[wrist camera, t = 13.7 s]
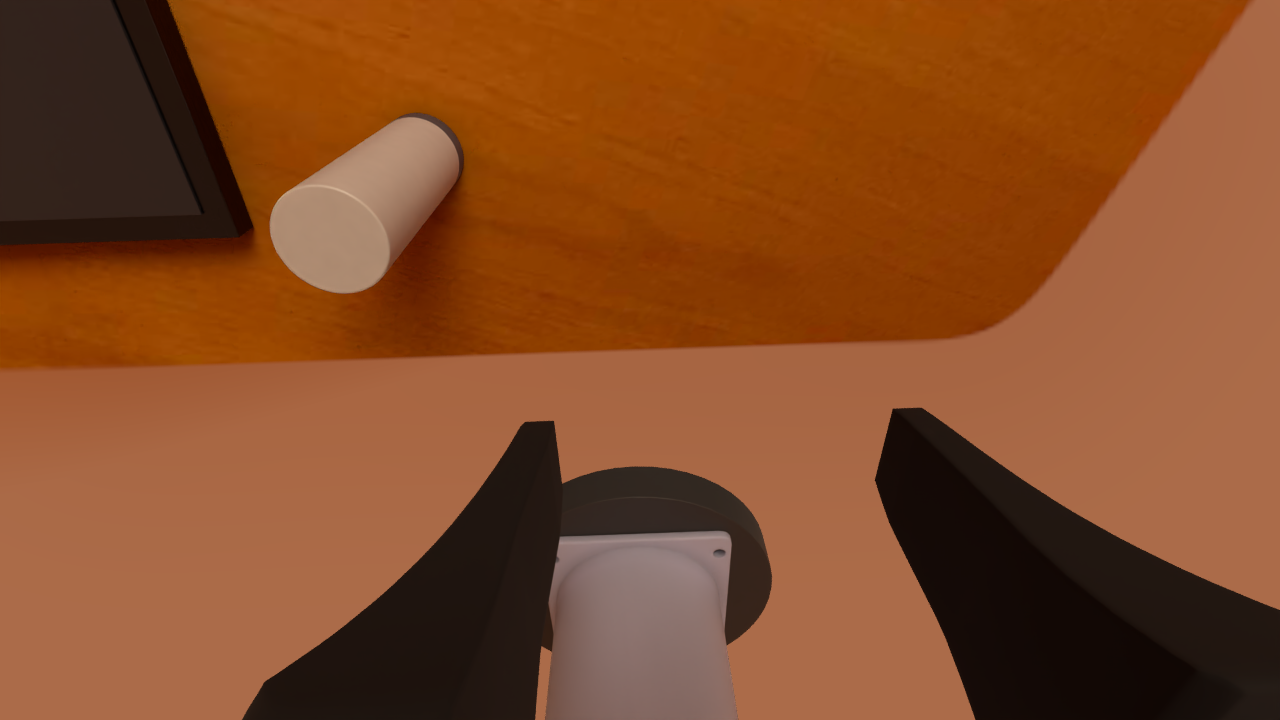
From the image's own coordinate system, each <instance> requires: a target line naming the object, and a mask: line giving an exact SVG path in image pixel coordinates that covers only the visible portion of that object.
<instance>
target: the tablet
mask: <svg viewBox="0 0 1280 720" xmlns="http://www.w3.org/2000/svg"><path fill="white" fill-rule="evenodd" d="M252 228H253V225H252V222H251V220H250V217H249V214H248V212H247V209H246V207H245V204H244V201H243V199H242V196H241V194H240V191H239V188H238V186H237V183H236V181H235V178H234V175H233V173H232V170H231V167H230V165H229V162H228V160H227V157H226V154H225V152H224V149H223V147H222V144H221V141H220V139H219V136H218V133H217V131H216V128H215V126H214V123H213V120H212V118H211V115H210V113H209V110H208V107H207V105H206V102H205V99H204V97H203V94H202V92H201V89H200V86H199V84H198V81H197V79H196V76H195V73H194V71H193V68H192V66H191V63H190V60H189V58H188V55H187V52H186V50H185V47H184V45H183V42H182V39H181V37H180V34H179V32H178V29H177V26H176V24H175V21H174V18H173V16H172V13H171V11H170V8H169V5H168V3H167V0H0V245H18V244H49V243H79V242H110V241H141V240H172V239H202V238H233V237H240V236H242V235H243V234H245V233H246V232H248V231H249V230H250V229H252Z"/></svg>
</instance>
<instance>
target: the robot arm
mask: <svg viewBox="0 0 1280 720" xmlns="http://www.w3.org/2000/svg"><path fill="white" fill-rule="evenodd" d="M875 481H876V485H877V488H878V491H879V494H880V497H881V500H882V503H883V506H884V509H885V512H886V515H887V518H888V520H889V523H890V525H891V527H892V529H893V531H894V534H895V535H896V538H897V540H898V542H899V544H900V546H901V547H902V550H903V552H904V554H905V556H906V558H907V560H908V562H909V564H910V566H911V568H912V570H913V572H914V574H915V576H916V578H917V580H918V582H919V584H920V586H921V588H922V590H923V592H924V594H925V595H926V598H927V600H928V602H929V603H930V605H931V608H932V610H933V612H934V614H935V616H936V618H937V620H938V622H939V625H940V627H941V629H942V631H943V633H944V636H945V638H946V640H947V643H948V646H949V648H950V651H951V654H952V656H953V659H954V662H955V664H956V667H957V669H958V672H959V675H960V677H961V680H962V683H963V685H964V688H965V691H966V694H967V697H968V700H969V703H970V705H971V708H972V711H973V714H974V717H975V720H1280V610H1278V609H1276V608H1273V607H1270V606H1268V605H1265V604H1263V603H1260V602H1258V601H1255V600H1253V599H1250V598H1248V597H1246V596H1243V595H1241V594H1238V593H1236V592H1234V591H1231V590H1229V589H1226V588H1224V587H1222V586H1219V585H1217V584H1214V583H1212V582H1210V581H1207V580H1205V579H1203V578H1201V577H1199V576H1196V575H1194V574H1192V573H1190V572H1188V571H1185V570H1183V569H1181V568H1179V567H1177V566H1175V565H1173V564H1170V563H1168V562H1166V561H1164V560H1162V559H1160V558H1158V557H1156V556H1154V555H1152V554H1150V553H1148V552H1146V551H1144V550H1142V549H1140V548H1137V547H1136V546H1134V545H1132V544H1130V543H1128V542H1126V541H1124V540H1122V539H1120V538H1118V537H1116V536H1115V535H1113V534H1111V533H1109V532H1107V531H1106V530H1104V529H1102V528H1100V527H1098V526H1097V525H1095V524H1093V523H1092V522H1090V521H1088V520H1086V519H1084V518H1083V517H1081V516H1079V515H1077V514H1076V513H1074V512H1072V511H1071V510H1069V509H1067V508H1066V507H1064V506H1062V505H1061V504H1059V503H1058V502H1056V501H1054V500H1053V499H1051V498H1050V497H1048V496H1047V495H1045V494H1044V493H1042V492H1041V491H1039V490H1037V489H1036V488H1034V487H1033V486H1031V485H1030V484H1028V483H1027V482H1025V481H1024V480H1022V479H1021V478H1019V477H1018V476H1016V475H1015V474H1013V473H1012V472H1010V471H1009V470H1008V469H1006V468H1005V467H1003V466H1002V465H1000V464H999V463H998V462H996V461H995V460H994V459H992V458H991V457H989V456H988V455H987V454H985V453H984V452H982V451H981V450H980V449H978V448H977V447H976V446H974V445H973V444H972V443H970V442H969V441H967V440H966V439H965V438H963V437H962V436H961V435H959V434H958V433H956V432H955V431H954V430H953V429H951V428H950V427H948V426H947V425H946V424H944V423H943V422H942V421H940V420H939V419H937V418H936V417H934V416H933V415H932V414H930V413H929V412H927V411H926V410H924V409H923V408H901V409H893V410H892V414H891V418H890V422H889V426H888V430H887V434H886V438H885V442H884V446H883V450H882V454H881V458H880V462H879V466H878V470H877V474H876V478H875ZM562 499H563V488H562V481H561V473H560V465H559V457H558V449H557V442H556V433H555V425H554V421H537V422H525V423H524V424H523V425H522V426H521V427H520V429H519V430H518V432H517V434H516V435H515V437H514V439H513V440H512V442H511V444H510V445H509V447H508V448H507V450H506V452H505V453H504V455H503V456H502V458H501V459H500V461H499V462H498V464H497V465H496V467H495V468H494V470H493V471H492V472H491V474H490V475H489V477H488V478H487V479H486V481H485V482H484V484H483V485H482V486H481V488H480V490H479V491H478V492H477V493H476V495H475V496H474V498H473V499H472V500H471V501H470V502H469V504H468V505H467V506H466V507H465V509H464V510H463V511H462V512H461V514H460V515H459V516H458V517H457V519H456V520H455V521H454V522H453V524H452V525H451V526H450V527H449V528H448V529H447V530H446V532H445V533H444V534H443V535H442V536H441V537H440V538H439V539H438V541H437V542H436V543H435V544H434V545H433V546H432V547H431V548H430V549H429V550H428V551H427V552H426V553H425V555H423V556H422V558H420V559H419V561H418V562H417V563H415V564H414V565H413V566H412V567H411V568H410V569H409V570H408V571H407V572H406V573H405V574H404V575H403V576H402V577H401V578H400V579H399V580H398V581H397V582H396V583H395V584H394V585H393V586H391V587H390V588H389V589H388V590H387V591H386V592H385V593H384V594H382V595H381V596H380V597H379V598H378V599H377V600H376V601H374V602H373V603H372V604H371V605H369V606H368V607H367V608H366V609H364V610H363V611H362V612H361V613H360V614H358V615H357V616H356V617H355V618H353V619H352V620H351V621H350V622H349V623H347V624H346V625H345V626H344V627H342V628H341V629H340V630H338V631H337V632H336V633H335V634H333V635H332V636H330V637H329V638H328V639H326V640H325V641H324V642H322V643H321V644H320V645H318V646H317V647H315V648H314V649H312V650H311V651H310V652H308V653H307V654H305V655H304V656H302V657H301V658H299V659H298V660H296V661H295V662H294V663H292V664H291V665H289V666H288V667H286V668H285V669H283V670H282V671H280V672H279V673H278V674H276V675H275V676H273V677H271V678H270V679H268V680H267V681H265V682H264V684H263V686H262V688H261V689H260V691H259V693H258V694H257V696H256V697H255V699H254V700H253V702H252V704H251V705H250V707H249V708H248V710H247V712H246V714H245V715H244V717H243V719H242V720H535V714H536V699H537V687H538V675H539V663H540V652H541V645H542V637H543V630H544V625H545V619H546V613H547V608H548V603H549V609H550V615H551V621H552V627H553V633H554V636H553V646H552V656H551V666H550V676H549V686H548V696H547V706H546V716H545V720H738V715H737V710H736V703H735V696H734V690H733V683H732V677H731V672H730V664H729V658H728V652H727V645H726V639H725V633H724V629H725V617H726V605H727V594H728V582H729V570H730V558H731V547H732V543H731V538H730V535H729V534H728V533H727V532H725V531H696V532H670V533H643V534H617V535H590V536H564V537H560V532H561V517H562ZM718 549H721V550H718Z"/></svg>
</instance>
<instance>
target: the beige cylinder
mask: <svg viewBox="0 0 1280 720" xmlns="http://www.w3.org/2000/svg"><path fill="white" fill-rule="evenodd" d="M463 160H464V159H463V152H462V148H461V145H460V143H459V141H458V139H457V137H456V135H455V134H454V133H453V131H452V130H451V129H450V128H449V127H448V126H447V125H446V124H444V123H443V122H442V121H440V120H438V119H437V118H435V117H432V116H430V115H427V114H421V113H411V114H406V115H403V116H401V117H399V118H397V119H396V120H394V121H393V122H391V123H390V124H388V125H387V126H385V127H384V128H382V129H381V130H379V131H378V132H376V133H375V134H373V135H372V136H370V137H369V138H367V139H366V140H364V141H363V142H361V143H360V144H358V145H357V146H355V147H354V148H352V149H351V150H349V151H348V152H346V153H345V154H343V155H342V156H340V157H339V158H337V159H336V160H334V161H333V162H331V163H330V164H328V165H327V166H325V167H324V168H322V169H321V170H319V171H318V172H316V173H315V174H313V175H312V176H310V177H309V178H307V179H306V180H304V181H303V182H301V183H300V184H298V185H297V186H295V187H294V188H292V189H291V190H289V191H288V192H286V193H285V194H284V195H283V196H282V197H280V199H279V200H278V201H277V202H276V204H275V206H274V208H273V210H272V213H271V218H270V233H271V238H272V242H273V245H274V247H275V249H276V251H277V253H278V255H279V257H280V258H281V260H282V261H283V262H284V264H285V265H286V266H287V267H288V268H289V269H290V270H291V271H292V272H293V273H294V274H295V275H296V276H298V277H299V278H301V279H302V280H303V281H305V282H307V283H308V284H310V285H312V286H314V287H316V288H319V289H322V290H325V291H329V292H333V293H346V294H347V293H356V292H360V291H363V290H366V289H368V288H370V287H372V286H374V285H375V284H376V283H377V282H379V281H380V279H381V278H382V277H383V276H384V275H385V273H386V272H387V271H388V270H389V268H390V267H391V266H392V264H393V263H394V262H395V261H396V259H397V258H398V257H399V255H400V254H401V253H402V251H403V250H404V249H405V248H406V246H407V245H408V244H409V242H410V241H411V240H412V239H413V237H414V236H415V235H416V233H417V232H418V231H419V229H420V228H421V227H422V226H423V224H424V223H425V222H426V220H427V219H428V218H429V217H430V215H431V214H432V213H433V211H434V210H435V209H436V207H437V206H438V205H439V204H440V202H441V201H442V200H443V198H444V197H445V196H446V195H447V193H448V192H449V191H450V189H451V188H452V187H453V185H454V184H455V183H456V182H457V180H458V179H459V177H460V175H461V172H462V169H463Z"/></svg>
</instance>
